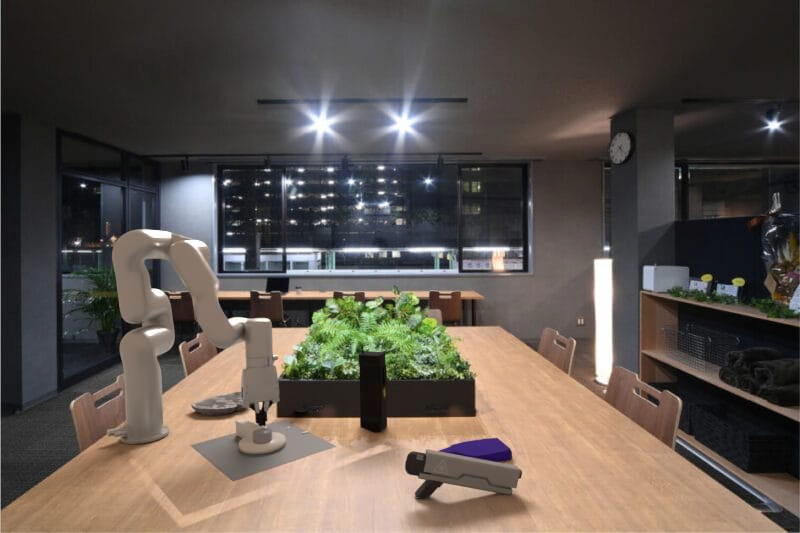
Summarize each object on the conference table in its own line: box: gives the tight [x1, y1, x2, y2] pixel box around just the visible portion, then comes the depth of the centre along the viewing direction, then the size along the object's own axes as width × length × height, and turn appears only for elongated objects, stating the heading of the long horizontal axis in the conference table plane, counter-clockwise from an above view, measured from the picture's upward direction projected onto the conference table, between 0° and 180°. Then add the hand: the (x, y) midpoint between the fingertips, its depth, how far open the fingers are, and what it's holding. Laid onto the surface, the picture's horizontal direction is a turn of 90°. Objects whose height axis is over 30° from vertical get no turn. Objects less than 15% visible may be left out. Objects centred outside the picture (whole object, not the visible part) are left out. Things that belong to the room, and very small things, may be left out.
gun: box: [404, 448, 523, 500], centre depth 105 cm, size 2×25×10 cm, turn 93°
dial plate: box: [190, 419, 337, 482], centre depth 130 cm, size 28×28×2 cm
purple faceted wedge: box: [438, 437, 513, 463], centre depth 123 cm, size 3×11×24 cm
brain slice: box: [190, 391, 245, 416], centre depth 166 cm, size 20×17×3 cm
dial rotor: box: [235, 418, 286, 454], centre depth 132 cm, size 18×12×4 cm, turn 47°
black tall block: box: [358, 344, 389, 433], centre depth 145 cm, size 8×6×25 cm
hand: (261, 424), depth 140 cm, fingers closed
